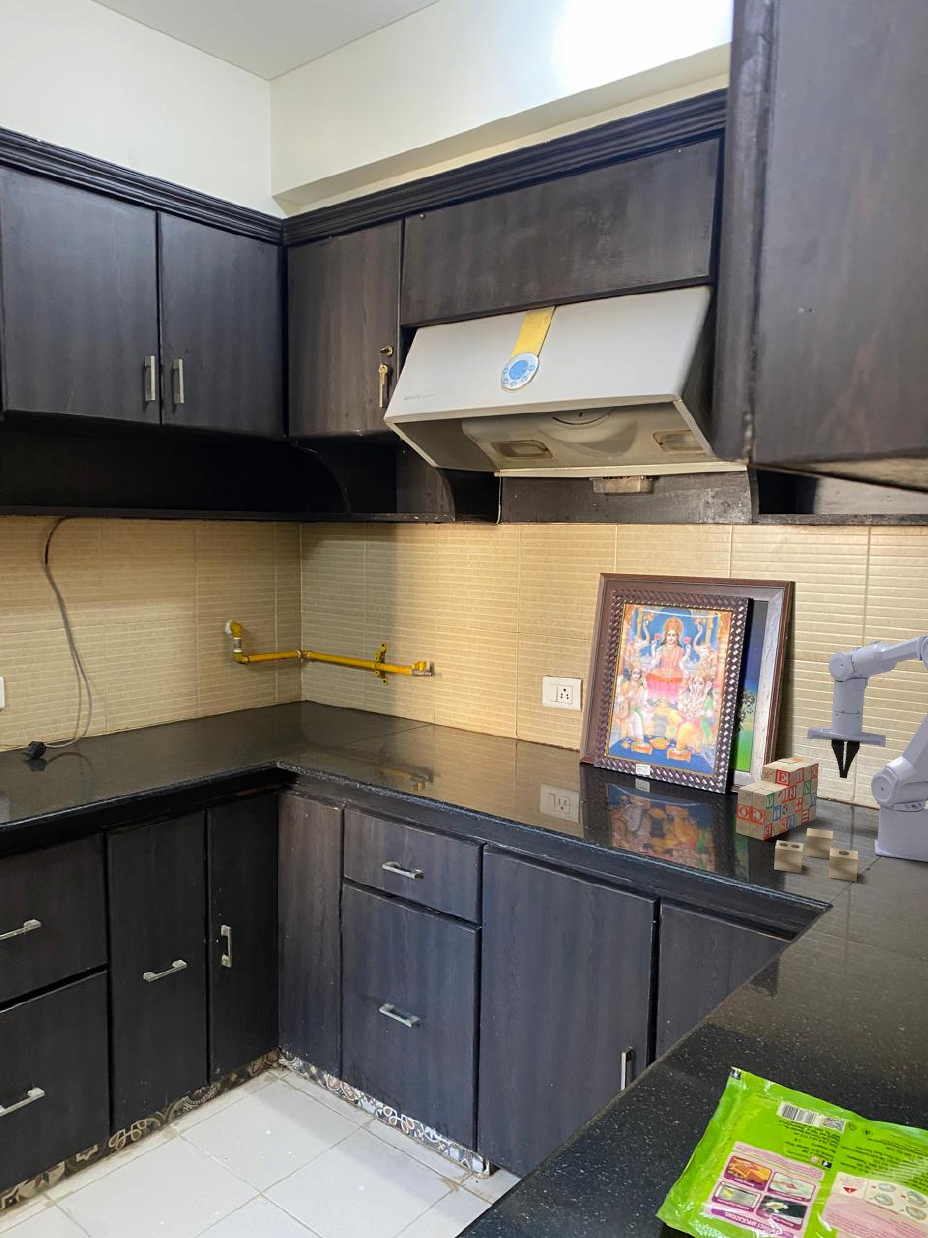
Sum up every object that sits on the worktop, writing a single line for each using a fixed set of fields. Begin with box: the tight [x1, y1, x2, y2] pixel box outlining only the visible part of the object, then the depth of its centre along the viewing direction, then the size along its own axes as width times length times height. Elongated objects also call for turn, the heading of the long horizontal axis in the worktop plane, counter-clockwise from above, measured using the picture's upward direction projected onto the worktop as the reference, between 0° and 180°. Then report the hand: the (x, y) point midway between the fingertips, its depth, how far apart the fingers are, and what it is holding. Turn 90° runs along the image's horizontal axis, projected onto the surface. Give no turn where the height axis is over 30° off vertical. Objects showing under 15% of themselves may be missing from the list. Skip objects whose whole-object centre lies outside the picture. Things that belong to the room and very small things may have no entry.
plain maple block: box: [804, 827, 834, 860], centre depth 172 cm, size 4×4×4 cm
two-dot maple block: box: [773, 839, 804, 874], centre depth 165 cm, size 4×4×4 cm
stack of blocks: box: [735, 756, 820, 841], centre depth 188 cm, size 21×6×12 cm, turn 133°
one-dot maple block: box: [827, 847, 859, 882], centre depth 162 cm, size 4×4×4 cm
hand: (843, 777), depth 187 cm, fingers closed
